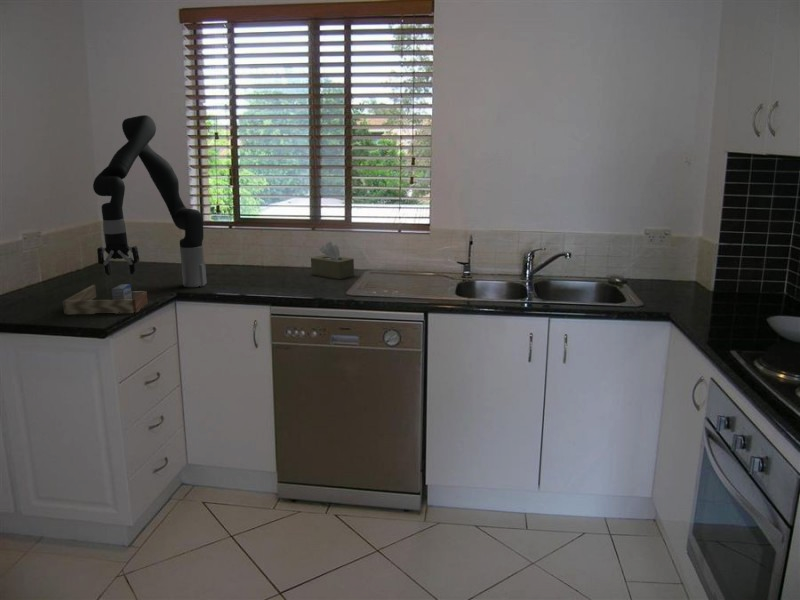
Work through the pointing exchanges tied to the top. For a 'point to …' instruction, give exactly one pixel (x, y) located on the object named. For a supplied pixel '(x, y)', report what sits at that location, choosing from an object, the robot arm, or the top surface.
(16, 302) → the top surface
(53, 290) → the top surface
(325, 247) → the tissue box
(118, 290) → the medicine box
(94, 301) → the channel
